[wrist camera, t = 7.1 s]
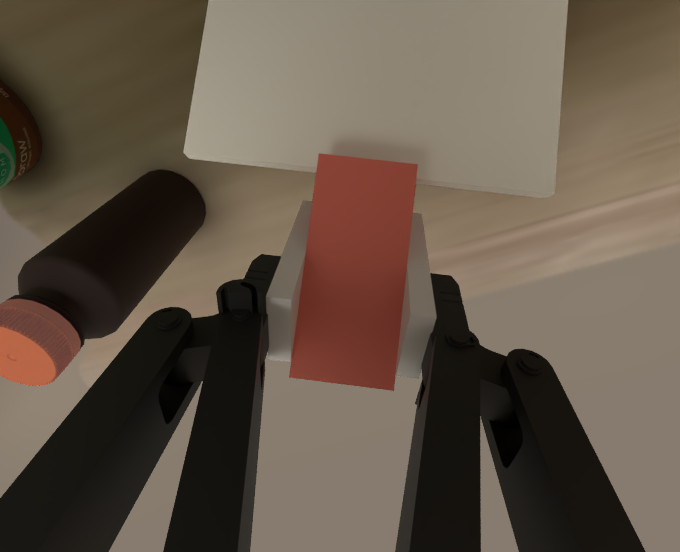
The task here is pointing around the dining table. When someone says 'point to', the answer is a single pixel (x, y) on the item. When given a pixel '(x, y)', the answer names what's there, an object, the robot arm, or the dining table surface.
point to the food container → (16, 137)
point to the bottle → (95, 275)
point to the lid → (377, 137)
